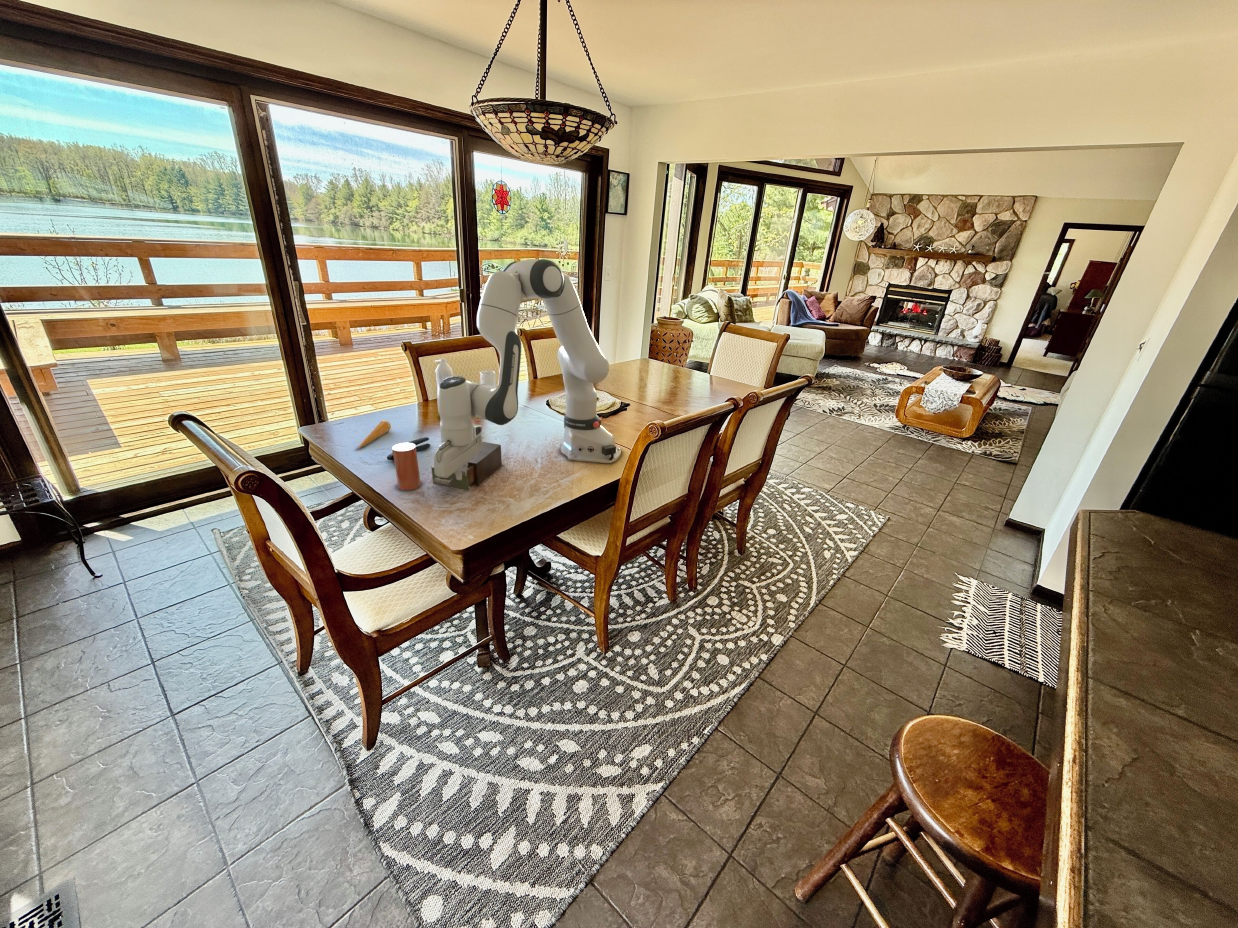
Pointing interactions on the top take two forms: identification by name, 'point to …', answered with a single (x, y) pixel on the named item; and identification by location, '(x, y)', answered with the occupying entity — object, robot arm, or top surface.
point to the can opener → (418, 448)
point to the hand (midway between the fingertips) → (461, 477)
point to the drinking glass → (488, 378)
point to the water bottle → (442, 370)
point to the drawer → (452, 480)
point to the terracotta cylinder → (406, 466)
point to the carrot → (377, 432)
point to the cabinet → (486, 462)
